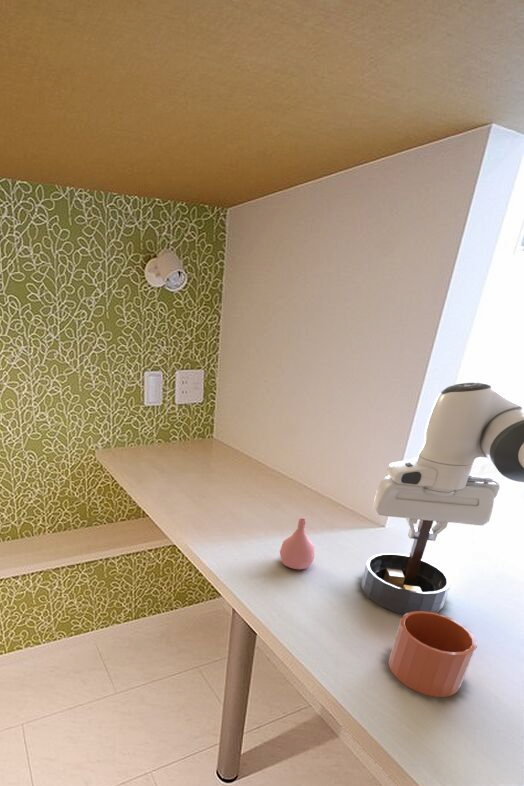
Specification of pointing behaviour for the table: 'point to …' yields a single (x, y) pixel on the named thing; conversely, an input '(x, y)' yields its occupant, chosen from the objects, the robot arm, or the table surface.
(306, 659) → the table surface
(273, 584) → the table surface
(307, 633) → the table surface
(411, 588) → the mustard block
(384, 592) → the bowl
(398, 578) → the maple block
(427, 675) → the holder
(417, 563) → the stirring stick
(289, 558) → the pink teardrop shaped piece
